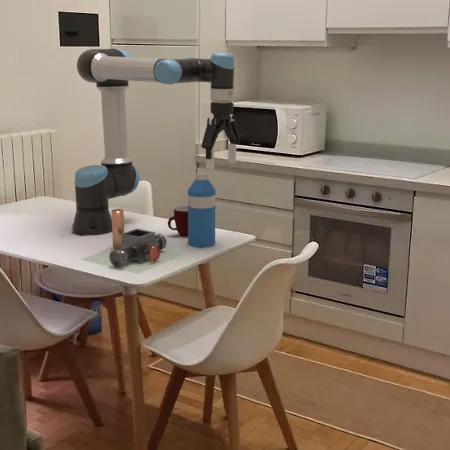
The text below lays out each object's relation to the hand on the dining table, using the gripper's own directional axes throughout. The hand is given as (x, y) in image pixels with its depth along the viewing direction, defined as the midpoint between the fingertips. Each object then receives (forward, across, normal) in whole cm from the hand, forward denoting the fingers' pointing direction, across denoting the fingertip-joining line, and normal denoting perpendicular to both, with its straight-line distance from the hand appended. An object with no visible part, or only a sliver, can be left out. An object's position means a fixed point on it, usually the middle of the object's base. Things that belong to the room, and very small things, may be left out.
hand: (221, 165), depth 231 cm
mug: (+28, +1, +17) cm, 32 cm away
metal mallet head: (+27, -29, +11) cm, 41 cm away
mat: (+28, -29, +15) cm, 43 cm away
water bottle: (+28, -4, +5) cm, 29 cm away
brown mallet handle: (+27, -24, +25) cm, 44 cm away
